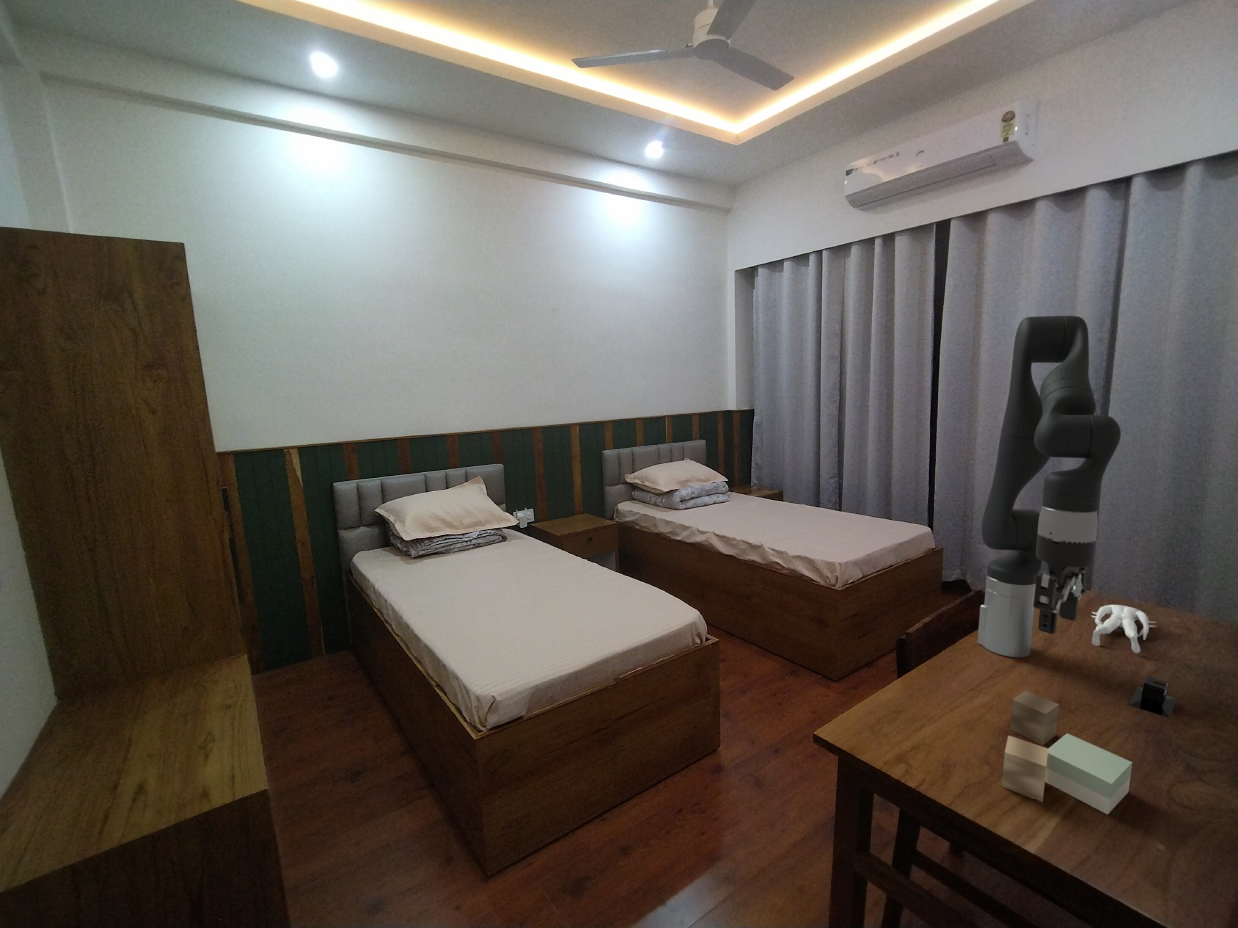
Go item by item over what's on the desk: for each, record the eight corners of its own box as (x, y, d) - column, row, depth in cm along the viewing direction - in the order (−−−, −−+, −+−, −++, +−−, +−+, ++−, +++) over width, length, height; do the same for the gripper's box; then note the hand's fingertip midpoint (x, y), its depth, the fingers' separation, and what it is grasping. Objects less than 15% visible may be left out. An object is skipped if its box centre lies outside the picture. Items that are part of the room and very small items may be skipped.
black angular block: (1174, 727, 95) (1177, 703, 95) (1119, 708, 101) (1122, 686, 100) (1183, 699, 103) (1186, 677, 102) (1131, 683, 109) (1134, 663, 108)
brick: (1001, 786, 82) (1004, 751, 81) (1005, 768, 86) (1008, 735, 85) (1042, 802, 79) (1046, 766, 78) (1044, 783, 83) (1048, 748, 82)
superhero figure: (1147, 664, 117) (1153, 628, 134) (1155, 640, 116) (1160, 607, 132) (1079, 641, 125) (1093, 610, 142) (1086, 618, 124) (1099, 590, 141)
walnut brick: (1009, 729, 95) (1012, 699, 94) (1023, 720, 98) (1025, 690, 97) (1042, 745, 91) (1046, 713, 90) (1055, 735, 93) (1059, 704, 92)
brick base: (1041, 779, 83) (1044, 751, 82) (1064, 760, 87) (1067, 733, 86) (1107, 814, 76) (1111, 783, 76) (1128, 791, 80) (1132, 762, 80)
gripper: (1056, 522, 95) (1048, 607, 97) (1020, 536, 88) (1013, 628, 90) (1111, 531, 89) (1101, 622, 91) (1077, 547, 81) (1067, 645, 84)
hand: (1057, 625), depth 91 cm, fingers open, 8 cm apart
